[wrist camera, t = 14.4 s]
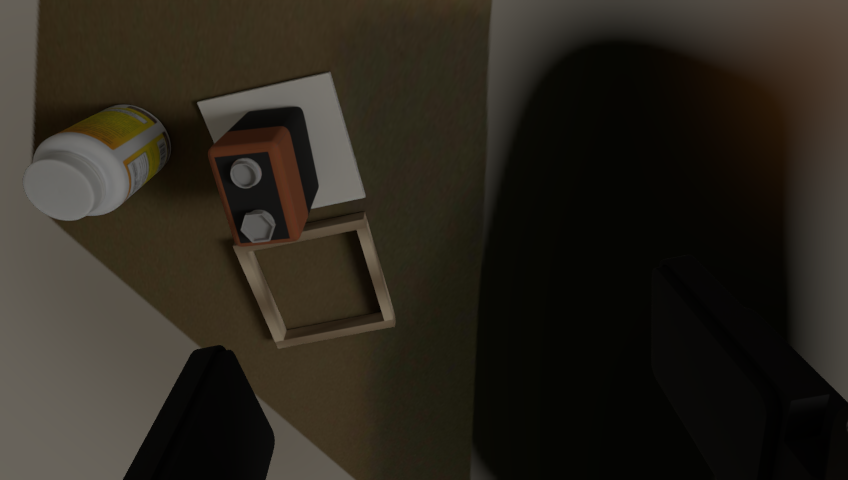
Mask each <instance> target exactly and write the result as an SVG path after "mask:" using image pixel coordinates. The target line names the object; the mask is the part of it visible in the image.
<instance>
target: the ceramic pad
mask: <svg viewBox="0 0 848 480" xmlns="http://www.w3.org/2000/svg"><path fill="white" fill-rule="evenodd" d="M197 104H198V106H199V108H200V111H201V113H202V115H203V118H204V120H205V123H206V125H207V127H208V130H209V132H210V135H211V137H212V139H213V142H214V144H215V143H216V142H217V141H218V140H219V139H220V138H221V137H222V136H223V135H224V134H225V133H226V132H227V131H228V130H229V129H230V128H231V127H232V126H233V125H235V124H236V123H237V122H238V121H239V120H240V119H241V118H242V117H243V116H244V115H245V114H246V113H247V112H249V111H257V110H267V109H276V108H285V107H295V106H298V107H300V108H301V109H302V110H303V113H304V117H305V121H306V126H307V131H308V136H309V140H310V145H311V150H312V155H313V159H314V164H315V169H316V174H317V179H318V184H319V188H318V191H317V194H316V196H315V199H314V202H313V204H312V207H311V209H312V208H317V207H322V206H327V205H332V204H336V203H341V202H346V201H351V200H356V199H360V198H365V191H364V188H363V184H362V181H361V177H360V174H359V170H358V167H357V163H356V160H355V156H354V153H353V149H352V146H351V142H350V139H349V135H348V132H347V128H346V125H345V121H344V118H343V114H342V111H341V107H340V104H339V100H338V97H337V93H336V90H335V86H334V83H333V79H332V76H331V72H330V71H329V72H324V73H320V74H315V75H311V76H307V77H302V78H298V79H293V80H289V81H284V82H280V83H276V84H271V85H267V86H262V87H258V88H253V89H249V90H245V91H240V92H236V93H231V94H227V95H223V96H218V97H214V98H209V99H205V100H200V101H199V102H197Z"/></svg>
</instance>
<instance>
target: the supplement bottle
mask: <svg viewBox="0 0 848 480" xmlns="http://www.w3.org/2000/svg"><path fill="white" fill-rule="evenodd" d="M170 153H171V143H170V138H169V135H168V133H167V131H166V129H165V127H164V126H163V125H162V123H161V122H160V121H159V120H158V119H157V118H156V117H155V116H154V115H152V114H151V113H149V112H148V111H146V110H144V109H142V108H139V107H136V106H133V105H115V106H112V107H109V108H107V109H104V110H102V111H100V112H99V113H97V114H95V115H93V116H90V117H89V118H87V119H85V120H83V121H80V122H79V123H77V124H75V125H73V126H71V127H69V128H67V129H65V130H63V131H61V132H59V133H57V134H55V135H53V136H51V137H49V138H48V139H46V140H45V141H43V142H42V143H41V144H40V145H39V147H38V148H37V150H36V152H35V154H34V158H33V163H32V164H31V165H30V166H29V167H28V168H27V169H26V171H25V173H24V176H23V187H24V190H25V193H26V195H27V197H28V198H29V200H30V201H31V202H32V204H33V205H34V206H35V207H36V208H37V209H39V210H40V211H42V212H43V213H44V214H46V215H48V216H50V217H53V218H56V219H59V220H67V221H71V220H77V219H80V218H83V217H85V216H97V215H103V214H106V213H109V212H111V211H113V210H115V209H116V208H117V207H119V206H120V205H121V204H122V203H123V202H125V201H126V200H127V199H128V198H129V197H130V196H131V195H133V194H134V193H135V192H136V191H137V190H138V189H139V188H141V187H142V186H143V185H144V184H145V183H146V182H147V181H149V180H150V179H151V178H152V177H153V176H154V175H155V174H157V173H158V172H159V171H160V170H161V169H162V168H163V167H164V166H165V165H166V163H167V161H168V159H169V157H170Z"/></svg>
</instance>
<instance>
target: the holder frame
mask: <svg viewBox="0 0 848 480" xmlns="http://www.w3.org/2000/svg"><path fill="white" fill-rule="evenodd" d="M353 230H357V233H358V236H359V239H360V243H361V246H362V249H363V253H364V256H365V259H366V262H367V266H368V269H369V272H370V275H371V279H372V282H373V285H374V288H375V292H376V295H377V298H378V302H379V305H380V308H381V311H382V312H378V313H373V314H368V315H363V316H357V317H352V318H347V319H342V320H337V321H332V322H326V323H321V324H316V325H311V326H306V327H300V328H295V329H290V330H287V329H286V327H285V325H284V322H283V320H282V318H281V315H280V313H279V311H278V308H277V306H276V304H275V301H274V299H273V296H272V294H271V292H270V289H269V287H268V285H267V282H266V280H265V278H264V275H263V273H262V271H261V268H260V266H259V263H258V261H257V259H256V256H255V254H254V252H253V251H255V250H260V249H265V248H270V247H275V246H280V245H284V244H289V243H294V242H299V241H304V240H309V239H314V238H319V237H324V236H328V235H333V234H338V233H343V232H348V231H353ZM233 248H234V250H235V253H236V255H237V257H238V259H239V262H240V264H241V266H242V268H243V271H244V273H245V275H246V277H247V280H248V282H249V284H250V286H251V289H252V291H253V293H254V296H255V298H256V300H257V302H258V305H259V307H260V309H261V311H262V314H263V316H264V318H265V320H266V323H267V325H268V327H269V329H270V332H271V334H272V336H273V338H274V341H275V343H276V345H277V347H278V349H279V348H284V347H289V346H295V345H300V344H305V343H310V342H316V341H321V340H326V339H331V338H337V337H342V336H347V335H352V334H357V333H363V332H368V331H373V330H378V329H384V328H389V327H394V326H395V313H394V310H393V307H392V303H391V300H390V296H389V293H388V289H387V286H386V283H385V279H384V276H383V272H382V269H381V265H380V262H379V259H378V255H377V252H376V248H375V245H374V241H373V238H372V235H371V231H370V228H369V224H368V221H367V218H366V214H365V211H364V212H359V213H354V214H350V215H345V216H340V217H335V218H330V219H325V220H320V221H316V222H311V223H306V224H305V225H304V228H303V231H302V233H301V236H300V238H299V239H298V240H297V241H293V242H284V243H275V244H265V245H255V246H246V247H240V246H238V245H236V243H234V245H233Z"/></svg>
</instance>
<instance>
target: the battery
mask: <svg viewBox="0 0 848 480" xmlns="http://www.w3.org/2000/svg"><path fill="white" fill-rule="evenodd" d="M208 158H209V162H210V165H211V168H212V171H213V175H214V178H215V181H216V184H217V188H218V191H219V194H220V197H221V200H222V204H223V207H224V210H225V213H226V216H227V220H228V223H229V226H230V229H231V232H232V236H233V239H234V241H235V243H236V245H238V246H240V247H246V246H255V245H265V244H275V243H284V242H293V241H297V240H298V239H299V238H300V236H301V233H302V231H303V228H304V225H305V223H306V220H307V217H308V215H309V212H310V209H311V207H312V204H313V202H314V199H315V196H316V194H317V191H318V188H319V184H318V179H317V174H316V169H315V164H314V159H313V155H312V150H311V145H310V140H309V136H308V131H307V126H306V121H305V117H304V113H303V110H302V109H301V108H300V107H298V106H295V107H285V108H276V109H267V110H257V111H249V112H247V113H246V114H245V115H244V116H243V117H242V118H241V119H240V120H239V121H238V122H237V123H236V124H235V125H233V126H232V127H231V128H230V129H229V130H228V131H227V132H226V133H225V134H224V135H223V136H222V137H221V138H220V139H219V140H218V141H217V142H216V143H215V144H214V145H213V146H212V147H211V148H210V149H209V150H208Z"/></svg>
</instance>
